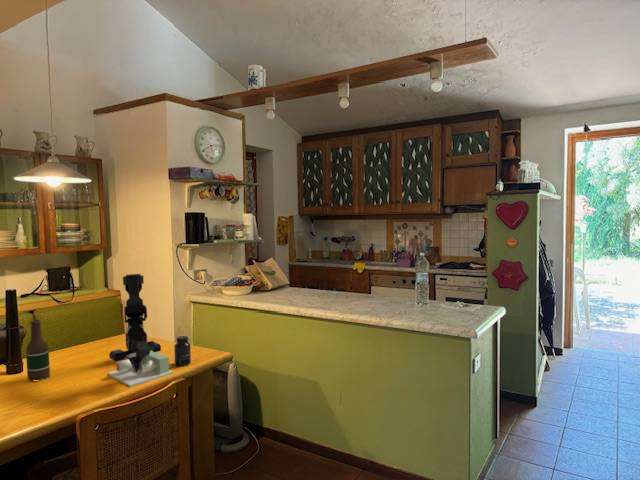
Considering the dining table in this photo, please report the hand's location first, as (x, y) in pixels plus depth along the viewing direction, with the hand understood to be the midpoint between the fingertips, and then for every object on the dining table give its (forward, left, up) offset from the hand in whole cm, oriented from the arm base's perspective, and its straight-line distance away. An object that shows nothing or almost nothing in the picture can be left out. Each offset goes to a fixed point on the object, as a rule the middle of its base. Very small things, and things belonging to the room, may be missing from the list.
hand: (136, 372), depth 176 cm
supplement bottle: (-1, +22, -3) cm, 22 cm away
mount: (-4, +5, -3) cm, 7 cm away
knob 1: (-9, +3, -1) cm, 9 cm away
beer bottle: (-32, -25, -3) cm, 41 cm away
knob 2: (0, +8, -1) cm, 8 cm away
